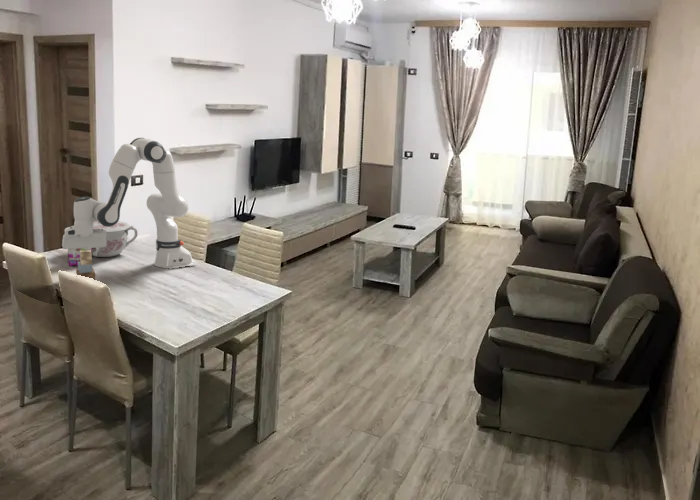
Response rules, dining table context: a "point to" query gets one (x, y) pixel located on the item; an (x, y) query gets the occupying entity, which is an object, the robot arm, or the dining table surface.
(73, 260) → the candy bar box
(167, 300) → the dining table surface
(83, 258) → the maple block
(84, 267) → the slate block
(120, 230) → the chamber pot
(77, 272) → the walnut block
